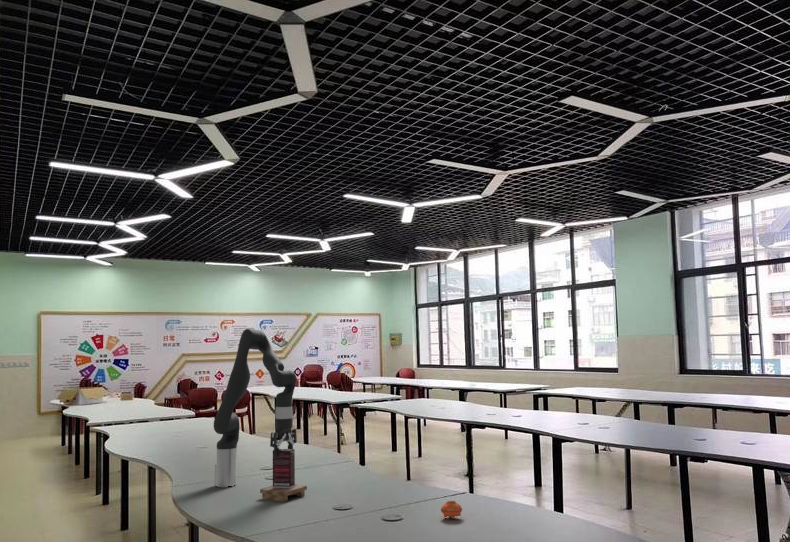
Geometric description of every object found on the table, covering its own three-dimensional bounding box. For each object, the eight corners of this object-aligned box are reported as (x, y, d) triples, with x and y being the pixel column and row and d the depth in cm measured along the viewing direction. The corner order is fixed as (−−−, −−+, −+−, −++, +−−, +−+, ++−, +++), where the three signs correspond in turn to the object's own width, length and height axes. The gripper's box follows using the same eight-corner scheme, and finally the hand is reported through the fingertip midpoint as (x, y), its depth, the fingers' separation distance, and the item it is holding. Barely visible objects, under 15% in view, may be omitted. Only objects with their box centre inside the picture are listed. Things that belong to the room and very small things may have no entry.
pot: (452, 522, 223) (448, 502, 225) (438, 523, 229) (435, 504, 231) (468, 517, 228) (464, 498, 230) (455, 518, 234) (451, 499, 236)
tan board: (260, 498, 265) (260, 489, 266) (282, 492, 277) (282, 482, 278) (285, 502, 258) (285, 492, 259) (306, 495, 270) (306, 485, 270)
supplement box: (295, 486, 270) (295, 448, 272) (290, 489, 265) (290, 450, 267) (276, 485, 272) (276, 448, 274) (271, 488, 267) (272, 450, 269)
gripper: (279, 419, 264) (278, 458, 262) (301, 415, 276) (301, 453, 274) (266, 418, 268) (265, 457, 266) (288, 415, 280) (288, 452, 278)
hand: (283, 455), depth 270 cm, fingers open, 8 cm apart
